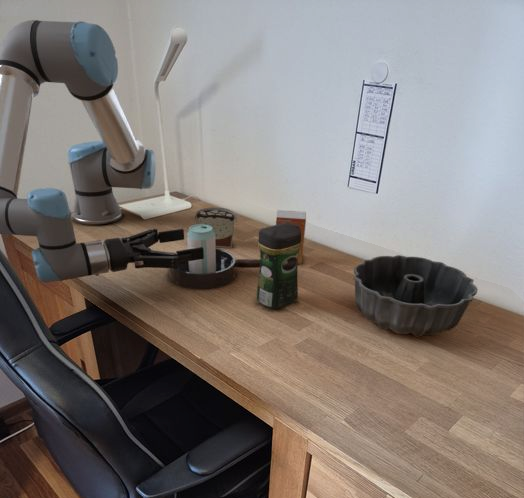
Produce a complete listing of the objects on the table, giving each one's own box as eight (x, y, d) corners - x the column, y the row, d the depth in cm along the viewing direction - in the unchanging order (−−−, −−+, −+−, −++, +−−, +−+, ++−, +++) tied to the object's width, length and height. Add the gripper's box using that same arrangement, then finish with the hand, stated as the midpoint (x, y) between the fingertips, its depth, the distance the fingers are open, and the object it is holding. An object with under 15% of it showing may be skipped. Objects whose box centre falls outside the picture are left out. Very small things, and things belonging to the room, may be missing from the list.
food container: (239, 240, 141) (239, 208, 135) (236, 248, 136) (236, 215, 130) (200, 237, 142) (198, 205, 136) (195, 245, 136) (194, 212, 131)
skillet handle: (233, 269, 119) (233, 261, 118) (233, 265, 121) (233, 257, 120) (283, 269, 120) (284, 261, 119) (282, 265, 122) (283, 258, 121)
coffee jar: (280, 289, 115) (284, 216, 104) (302, 301, 110) (309, 226, 99) (250, 300, 109) (252, 224, 99) (272, 313, 104) (276, 235, 94)
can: (187, 267, 122) (185, 223, 115) (213, 265, 123) (212, 222, 117) (190, 279, 116) (188, 233, 110) (218, 277, 118) (217, 232, 111)
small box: (273, 262, 128) (275, 216, 121) (274, 253, 133) (276, 209, 126) (302, 264, 128) (306, 218, 120) (301, 255, 133) (306, 211, 126)
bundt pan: (326, 299, 111) (331, 260, 106) (415, 284, 120) (424, 248, 114) (389, 358, 91) (400, 315, 86) (490, 336, 100) (505, 295, 94)
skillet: (172, 260, 127) (171, 247, 124) (234, 260, 128) (234, 247, 126) (166, 289, 112) (165, 274, 110) (236, 288, 114) (236, 274, 112)
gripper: (98, 252, 117) (177, 240, 125) (122, 293, 99) (212, 276, 108) (93, 223, 113) (175, 213, 121) (117, 261, 95) (211, 246, 103)
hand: (193, 243), depth 114 cm, fingers open, 13 cm apart
